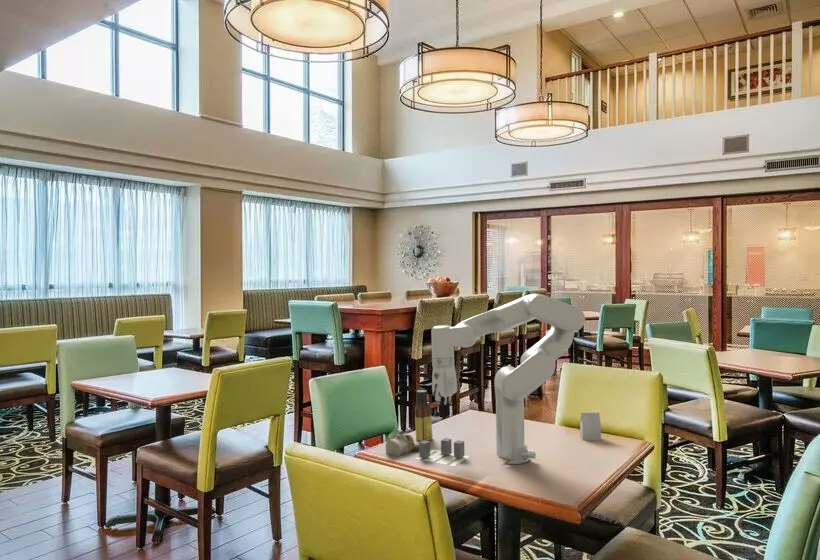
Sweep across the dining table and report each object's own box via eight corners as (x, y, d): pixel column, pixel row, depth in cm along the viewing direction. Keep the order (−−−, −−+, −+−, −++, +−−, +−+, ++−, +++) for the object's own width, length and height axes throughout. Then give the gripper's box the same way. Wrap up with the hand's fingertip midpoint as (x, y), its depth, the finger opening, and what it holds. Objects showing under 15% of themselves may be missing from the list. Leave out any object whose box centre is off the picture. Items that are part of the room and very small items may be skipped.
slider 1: (430, 456, 193) (429, 441, 193) (425, 458, 190) (425, 443, 190) (424, 454, 194) (423, 440, 194) (419, 457, 192) (419, 442, 192)
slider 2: (451, 453, 195) (451, 439, 195) (447, 455, 193) (447, 441, 193) (445, 452, 197) (445, 438, 196) (441, 454, 194) (440, 440, 194)
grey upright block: (600, 440, 214) (600, 413, 214) (582, 440, 215) (582, 413, 215) (598, 437, 218) (597, 411, 218) (580, 437, 218) (580, 411, 218)
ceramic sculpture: (377, 431, 199) (406, 425, 210) (376, 456, 199) (405, 448, 210) (399, 437, 192) (428, 430, 203) (398, 463, 192) (427, 455, 203)
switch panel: (469, 460, 193) (469, 456, 193) (454, 470, 184) (453, 466, 184) (432, 453, 201) (432, 449, 201) (415, 462, 192) (414, 458, 192)
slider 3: (464, 455, 193) (464, 441, 192) (460, 458, 190) (460, 443, 190) (458, 454, 194) (458, 440, 194) (454, 457, 191) (453, 442, 191)
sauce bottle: (433, 440, 217) (432, 388, 216) (432, 445, 210) (431, 392, 210) (415, 440, 217) (415, 388, 217) (414, 445, 211) (413, 392, 211)
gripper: (442, 366, 185) (444, 422, 185) (462, 359, 198) (464, 411, 198) (422, 364, 189) (424, 419, 189) (444, 358, 202) (445, 409, 202)
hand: (444, 415), depth 194 cm, fingers closed
